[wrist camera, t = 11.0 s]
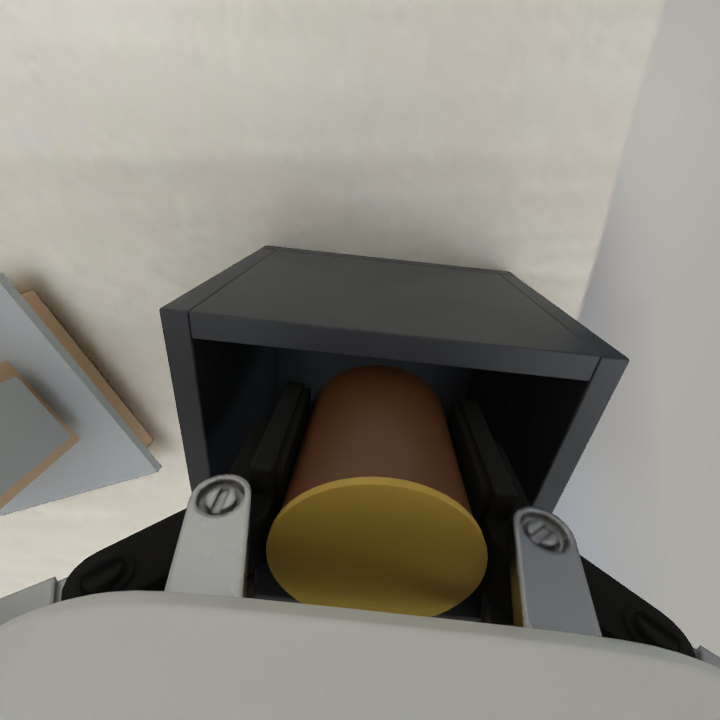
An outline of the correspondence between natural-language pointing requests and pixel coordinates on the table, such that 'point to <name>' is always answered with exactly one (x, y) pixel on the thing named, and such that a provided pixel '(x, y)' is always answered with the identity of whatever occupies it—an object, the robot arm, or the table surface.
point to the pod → (377, 502)
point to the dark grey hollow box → (386, 359)
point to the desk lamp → (58, 413)
